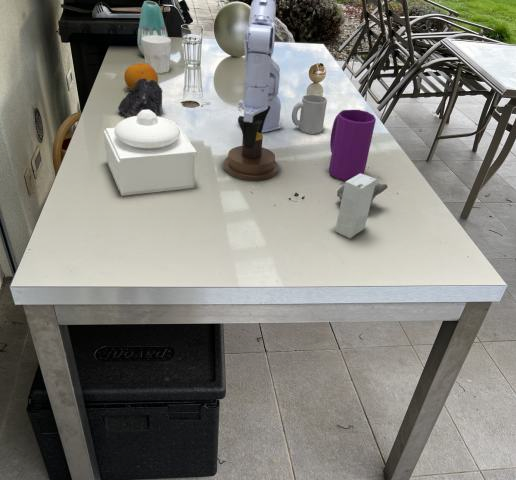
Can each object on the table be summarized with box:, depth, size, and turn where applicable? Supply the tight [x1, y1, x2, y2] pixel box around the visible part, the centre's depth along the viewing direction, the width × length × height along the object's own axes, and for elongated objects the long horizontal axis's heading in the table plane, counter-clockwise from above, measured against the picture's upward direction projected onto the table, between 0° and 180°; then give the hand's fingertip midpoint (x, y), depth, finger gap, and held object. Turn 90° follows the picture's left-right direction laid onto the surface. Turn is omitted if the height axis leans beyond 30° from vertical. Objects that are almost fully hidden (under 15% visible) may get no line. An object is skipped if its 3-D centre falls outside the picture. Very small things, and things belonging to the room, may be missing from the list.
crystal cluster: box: [117, 78, 163, 118], centre depth 157 cm, size 13×14×10 cm
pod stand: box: [223, 145, 279, 182], centre depth 136 cm, size 14×14×4 cm
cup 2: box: [291, 94, 328, 135], centre depth 157 cm, size 7×10×9 cm
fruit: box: [123, 62, 159, 90], centre depth 172 cm, size 10×10×8 cm
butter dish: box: [103, 110, 198, 197], centre depth 125 cm, size 18×18×16 cm
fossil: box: [336, 182, 388, 204], centre depth 124 cm, size 11×9×8 cm
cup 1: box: [142, 35, 172, 74], centre depth 188 cm, size 10×10×10 cm
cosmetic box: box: [334, 173, 377, 239], centre depth 114 cm, size 6×4×12 cm
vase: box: [136, 0, 169, 57], centre depth 197 cm, size 12×12×18 cm
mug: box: [328, 109, 377, 182], centre depth 136 cm, size 9×16×15 cm, turn 18°
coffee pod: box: [241, 132, 264, 159], centre depth 133 cm, size 5×5×5 cm
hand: (252, 141), depth 133 cm, fingers open, 7 cm apart
